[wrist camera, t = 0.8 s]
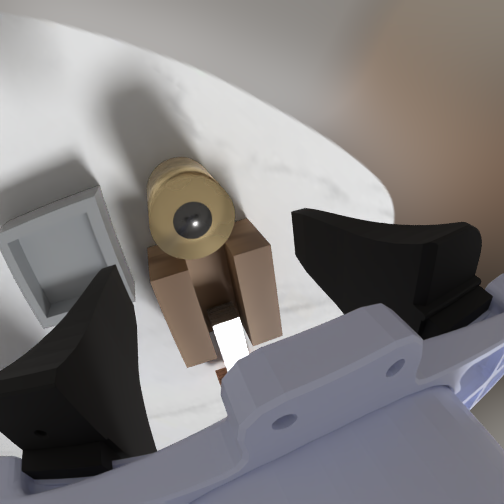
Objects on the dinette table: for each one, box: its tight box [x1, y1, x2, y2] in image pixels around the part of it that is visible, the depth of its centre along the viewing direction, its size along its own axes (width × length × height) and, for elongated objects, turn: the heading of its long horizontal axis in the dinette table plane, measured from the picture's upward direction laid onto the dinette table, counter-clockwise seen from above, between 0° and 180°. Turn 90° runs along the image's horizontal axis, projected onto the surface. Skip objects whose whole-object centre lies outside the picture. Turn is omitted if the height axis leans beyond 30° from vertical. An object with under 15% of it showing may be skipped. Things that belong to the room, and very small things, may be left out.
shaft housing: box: [147, 218, 282, 368], centre depth 23 cm, size 8×8×5 cm
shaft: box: [206, 301, 248, 385], centre depth 25 cm, size 4×10×4 cm, turn 9°
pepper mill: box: [147, 157, 235, 260], centre depth 18 cm, size 4×4×6 cm
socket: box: [0, 185, 135, 329], centre depth 19 cm, size 8×8×2 cm
